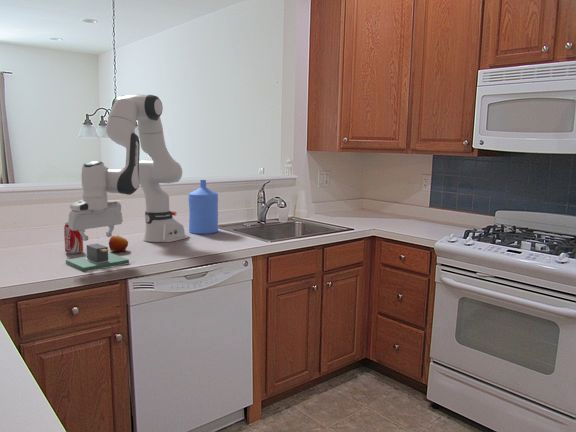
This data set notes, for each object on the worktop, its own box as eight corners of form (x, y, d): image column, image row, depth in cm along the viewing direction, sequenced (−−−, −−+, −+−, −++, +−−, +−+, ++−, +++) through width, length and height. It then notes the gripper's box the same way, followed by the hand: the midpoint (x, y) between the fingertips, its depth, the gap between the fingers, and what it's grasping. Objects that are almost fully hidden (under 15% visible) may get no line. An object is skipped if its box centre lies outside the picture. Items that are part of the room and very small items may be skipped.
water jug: (223, 232, 252) (223, 180, 248) (199, 235, 242) (198, 181, 237) (207, 228, 264) (207, 178, 259) (183, 231, 253) (182, 179, 249)
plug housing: (97, 256, 188) (97, 243, 187) (111, 262, 180) (111, 248, 179) (87, 258, 185) (86, 245, 184) (100, 264, 177) (100, 250, 176)
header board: (109, 256, 196) (109, 243, 195) (129, 263, 185) (128, 249, 184) (65, 263, 183) (65, 249, 182) (83, 271, 172) (83, 257, 171)
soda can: (78, 249, 205) (76, 220, 203) (86, 252, 201) (85, 222, 199) (62, 252, 200) (60, 222, 198) (70, 255, 196) (68, 224, 194)
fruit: (101, 248, 203) (110, 231, 205) (116, 255, 209) (125, 238, 210) (109, 251, 198) (118, 234, 199) (125, 258, 203) (133, 241, 205)
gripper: (116, 200, 190) (118, 233, 192) (65, 205, 175) (68, 241, 177) (124, 201, 186) (126, 235, 188) (72, 207, 171) (75, 244, 173)
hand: (97, 238), depth 183 cm, fingers open, 8 cm apart
